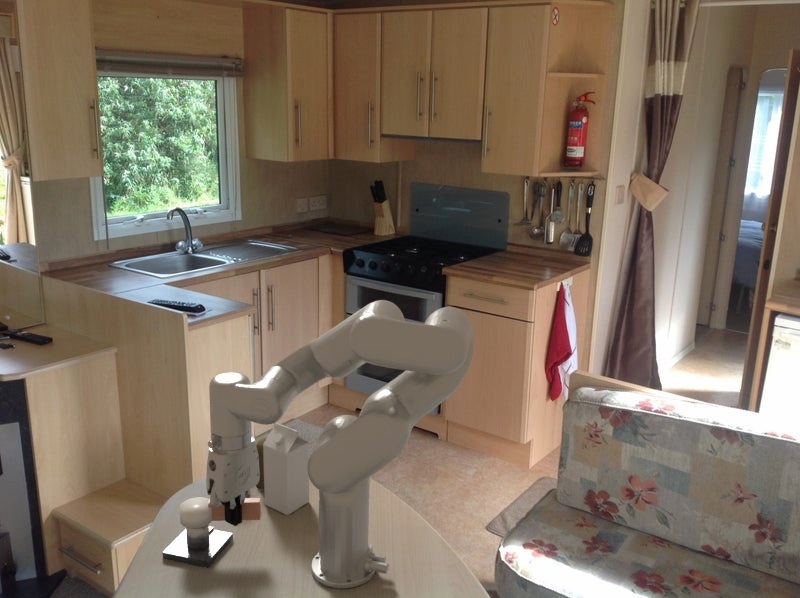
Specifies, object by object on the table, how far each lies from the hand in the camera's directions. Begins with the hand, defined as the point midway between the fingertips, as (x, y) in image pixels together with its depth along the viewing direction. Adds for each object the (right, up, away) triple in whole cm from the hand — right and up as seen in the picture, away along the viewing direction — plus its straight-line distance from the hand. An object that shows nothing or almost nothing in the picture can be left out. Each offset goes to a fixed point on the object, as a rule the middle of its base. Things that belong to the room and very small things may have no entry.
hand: (233, 521), depth 145 cm
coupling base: (-8, -7, +4) cm, 11 cm away
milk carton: (+7, -3, +21) cm, 23 cm away
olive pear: (+1, 0, +30) cm, 30 cm away
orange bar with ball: (-3, 0, +3) cm, 4 cm away
